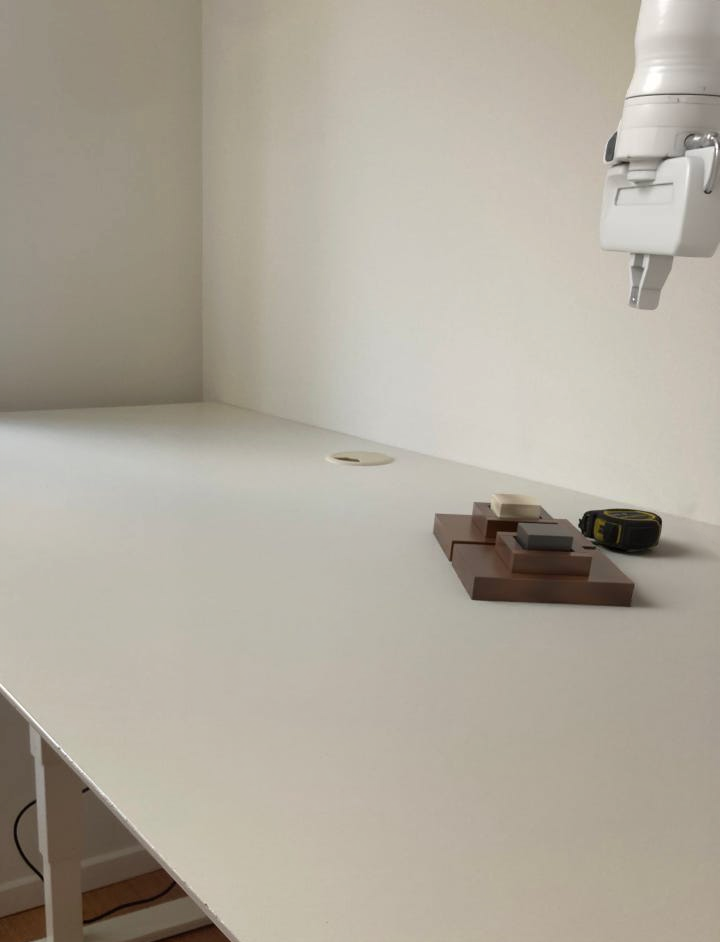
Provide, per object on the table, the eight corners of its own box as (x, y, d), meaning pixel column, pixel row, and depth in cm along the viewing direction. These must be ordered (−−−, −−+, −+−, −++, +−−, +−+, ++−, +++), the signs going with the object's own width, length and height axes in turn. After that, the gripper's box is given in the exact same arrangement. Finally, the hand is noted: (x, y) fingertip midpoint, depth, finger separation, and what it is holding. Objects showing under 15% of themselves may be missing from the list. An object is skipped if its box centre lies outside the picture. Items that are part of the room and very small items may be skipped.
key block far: (563, 538, 109) (569, 502, 108) (592, 568, 100) (599, 528, 99) (432, 533, 109) (436, 496, 108) (449, 561, 100) (454, 522, 99)
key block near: (595, 571, 99) (602, 531, 98) (630, 607, 90) (639, 563, 88) (451, 565, 99) (456, 525, 98) (471, 600, 90) (477, 556, 88)
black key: (558, 542, 95) (561, 524, 94) (570, 555, 91) (573, 536, 91) (515, 540, 95) (518, 522, 94) (525, 553, 91) (528, 534, 91)
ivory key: (528, 511, 105) (531, 494, 105) (538, 522, 101) (541, 505, 101) (489, 509, 105) (492, 493, 105) (498, 520, 101) (501, 503, 101)
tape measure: (627, 536, 111) (634, 503, 110) (671, 555, 105) (679, 519, 104) (574, 540, 109) (580, 506, 108) (616, 559, 103) (623, 523, 102)
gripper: (765, 130, 78) (725, 320, 83) (665, 148, 97) (638, 302, 102) (682, 127, 78) (647, 316, 83) (599, 145, 97) (574, 299, 102)
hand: (641, 308), depth 93 cm, fingers closed
